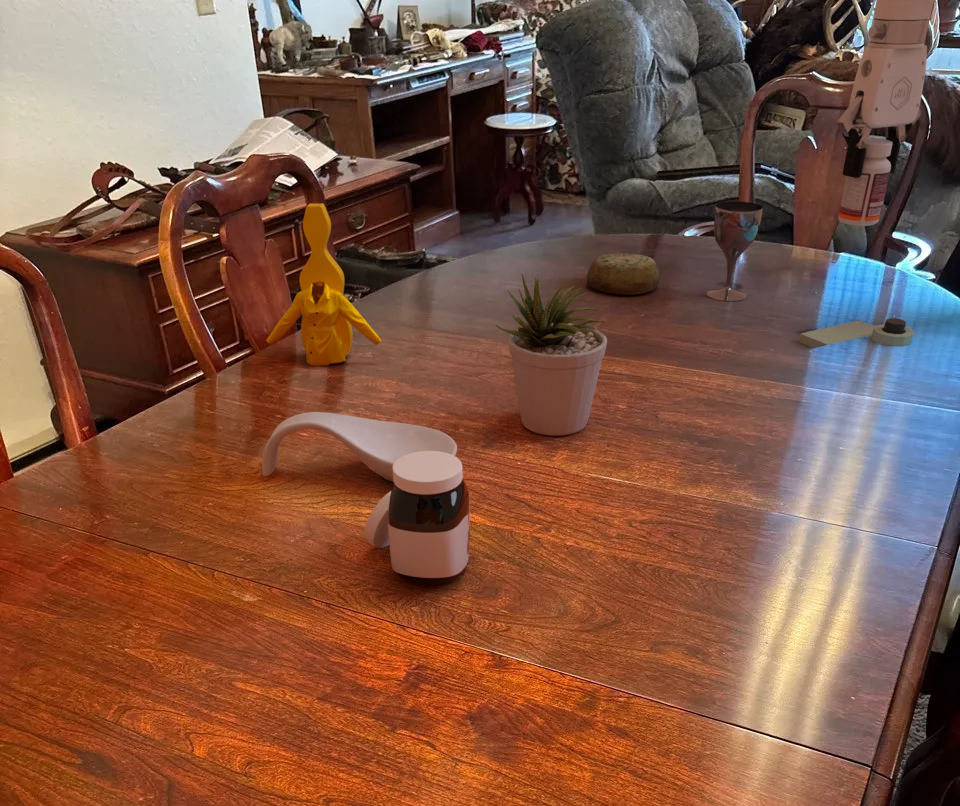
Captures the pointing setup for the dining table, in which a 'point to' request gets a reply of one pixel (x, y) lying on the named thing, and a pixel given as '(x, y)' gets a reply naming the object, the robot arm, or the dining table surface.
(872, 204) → the pill bottle
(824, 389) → the dining table surface
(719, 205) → the wine glass
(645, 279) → the cheese wheel
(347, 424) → the spoon rest
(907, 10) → the robot arm
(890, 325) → the button
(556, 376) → the potted plant
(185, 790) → the dining table surface
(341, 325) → the figure statuette
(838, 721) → the dining table surface
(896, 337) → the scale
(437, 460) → the spread jar
